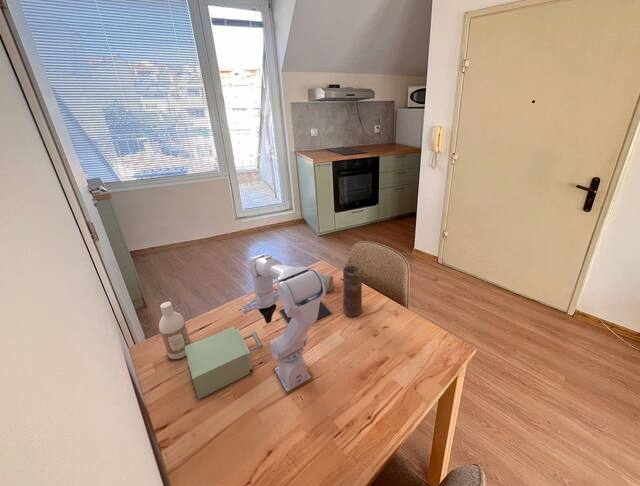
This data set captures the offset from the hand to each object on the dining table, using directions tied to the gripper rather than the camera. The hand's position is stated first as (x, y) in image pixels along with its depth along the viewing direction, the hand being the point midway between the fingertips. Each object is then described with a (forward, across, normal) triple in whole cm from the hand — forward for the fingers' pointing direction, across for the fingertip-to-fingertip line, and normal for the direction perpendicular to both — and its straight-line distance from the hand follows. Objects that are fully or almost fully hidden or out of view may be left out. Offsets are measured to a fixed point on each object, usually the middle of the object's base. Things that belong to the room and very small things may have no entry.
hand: (268, 321), depth 98 cm
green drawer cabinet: (+10, +17, +1) cm, 20 cm away
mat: (+11, -17, -7) cm, 21 cm away
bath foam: (+11, +26, -14) cm, 32 cm away
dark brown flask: (+10, -33, +3) cm, 35 cm away
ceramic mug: (+11, -31, -17) cm, 37 cm away
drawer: (+9, +13, +1) cm, 16 cm away
